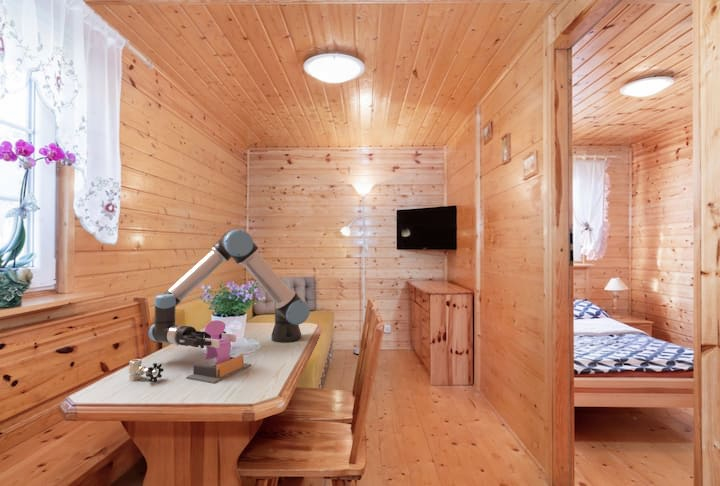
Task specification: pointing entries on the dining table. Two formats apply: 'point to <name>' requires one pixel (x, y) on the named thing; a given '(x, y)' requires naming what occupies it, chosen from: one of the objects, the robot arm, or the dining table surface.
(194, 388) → the dining table surface
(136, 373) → the valve
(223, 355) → the toy chair
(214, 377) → the grey and orange tray
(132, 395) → the dining table surface
